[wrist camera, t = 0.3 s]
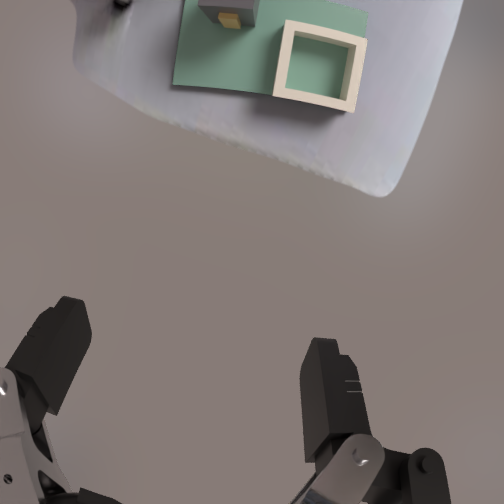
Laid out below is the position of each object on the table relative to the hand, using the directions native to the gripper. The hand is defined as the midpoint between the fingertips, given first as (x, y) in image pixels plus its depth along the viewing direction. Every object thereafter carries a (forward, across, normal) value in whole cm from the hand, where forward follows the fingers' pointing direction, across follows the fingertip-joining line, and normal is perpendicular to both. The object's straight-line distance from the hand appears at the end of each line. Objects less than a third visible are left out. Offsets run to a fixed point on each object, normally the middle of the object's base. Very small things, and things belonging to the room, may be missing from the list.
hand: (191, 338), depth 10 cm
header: (+26, -6, -11) cm, 29 cm away
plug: (+27, +3, -16) cm, 31 cm away
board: (+28, -1, -13) cm, 30 cm away
